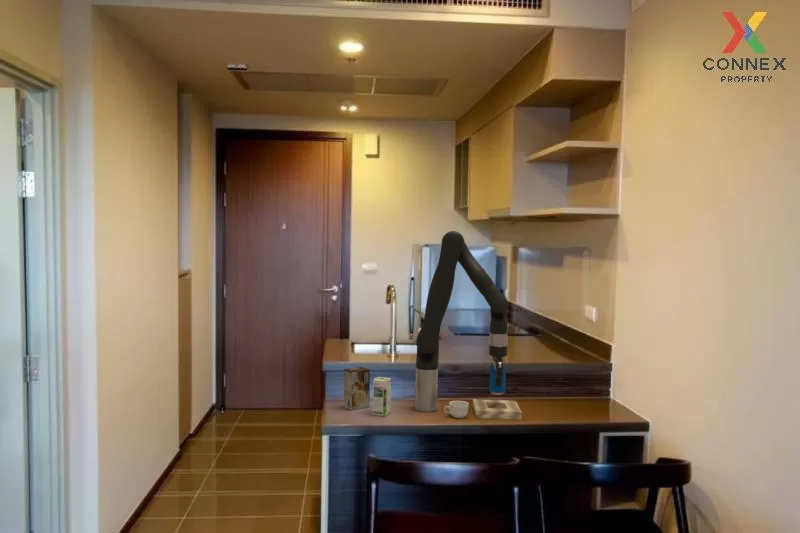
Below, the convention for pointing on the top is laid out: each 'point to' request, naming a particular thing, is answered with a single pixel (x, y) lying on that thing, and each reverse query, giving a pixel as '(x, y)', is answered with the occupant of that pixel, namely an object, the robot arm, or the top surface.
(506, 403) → the holder plate
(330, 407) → the top surface
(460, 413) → the teacup
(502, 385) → the beverage can
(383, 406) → the syrup box
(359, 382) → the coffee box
